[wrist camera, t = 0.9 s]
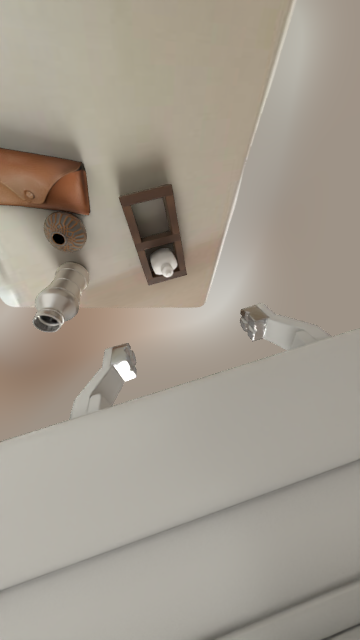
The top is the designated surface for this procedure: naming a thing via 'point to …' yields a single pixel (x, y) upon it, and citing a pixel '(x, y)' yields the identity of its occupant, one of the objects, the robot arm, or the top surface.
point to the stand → (156, 239)
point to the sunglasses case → (43, 182)
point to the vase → (65, 231)
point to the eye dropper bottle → (163, 262)
